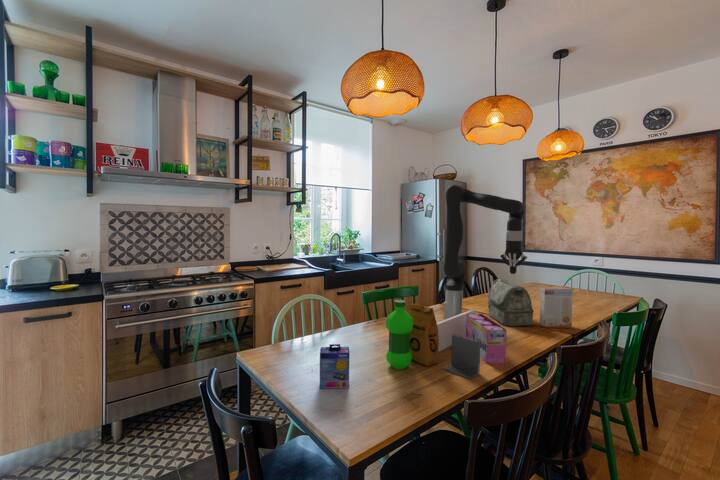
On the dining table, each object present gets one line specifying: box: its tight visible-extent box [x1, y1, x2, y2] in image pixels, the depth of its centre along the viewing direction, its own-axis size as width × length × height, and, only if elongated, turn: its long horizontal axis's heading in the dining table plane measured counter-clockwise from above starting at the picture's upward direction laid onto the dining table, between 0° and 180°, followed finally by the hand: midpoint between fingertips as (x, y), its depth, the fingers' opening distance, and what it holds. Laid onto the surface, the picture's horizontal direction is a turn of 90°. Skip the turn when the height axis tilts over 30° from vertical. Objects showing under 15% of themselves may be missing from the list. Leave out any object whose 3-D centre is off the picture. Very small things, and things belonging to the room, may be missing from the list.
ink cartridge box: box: [319, 343, 350, 390], centre depth 111 cm, size 10×6×14 cm, turn 95°
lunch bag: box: [487, 278, 534, 327], centre depth 188 cm, size 26×18×22 cm
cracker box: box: [539, 286, 574, 329], centre depth 176 cm, size 14×6×21 cm, turn 84°
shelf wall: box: [437, 308, 477, 353], centre depth 150 cm, size 2×40×12 cm, turn 135°
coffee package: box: [408, 302, 439, 367], centre depth 131 cm, size 10×12×22 cm
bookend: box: [443, 334, 481, 380], centre depth 121 cm, size 10×6×12 cm, turn 45°
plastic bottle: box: [385, 299, 413, 370], centre depth 125 cm, size 10×10×25 cm
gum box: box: [466, 313, 507, 365], centre depth 141 cm, size 24×8×14 cm, turn 4°
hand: (513, 273), depth 169 cm, fingers closed
